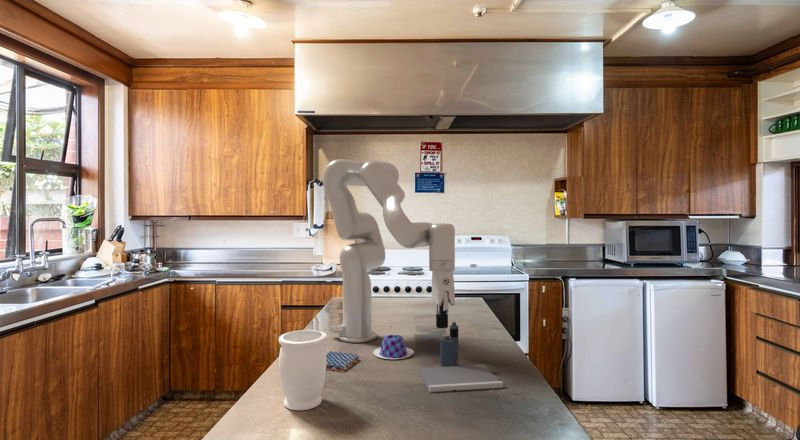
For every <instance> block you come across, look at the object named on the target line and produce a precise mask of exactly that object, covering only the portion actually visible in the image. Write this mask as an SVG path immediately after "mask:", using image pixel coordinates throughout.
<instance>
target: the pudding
mask: <svg viewBox="0 0 800 440" xmlns="http://www.w3.org/2000/svg"><path fill="white" fill-rule="evenodd" d="M413 354H414V350H413V349H412V348H409V347H406V344H405V340H404V338H403V336H401V335H398V334H389V335H385V336H384V337H383V339H382V343H381V346H380V347H378V348H375V349H374V350H373V355H374V356H375V357H378V358H381V359H385V360H400V359H406V358H409V357H411V356H412V355H413Z"/></svg>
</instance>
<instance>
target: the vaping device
mask: <svg viewBox="0 0 800 440" xmlns="http://www.w3.org/2000/svg"><path fill="white" fill-rule="evenodd" d="M439 345H440V347H439V348H440V349H439V350H440V352H439V355H440V357H439V359H440V360H439V361H440V365H441V366H442V367H451V366H459V348H460V347H459V325H458V324H457V322H454V321H453V322H452V323H451V325H449V334H447V333H446V334H442V335H441V337H440V343H439Z"/></svg>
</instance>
